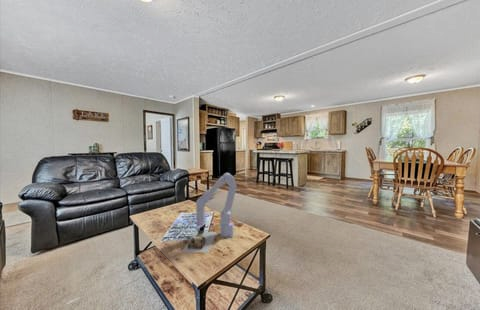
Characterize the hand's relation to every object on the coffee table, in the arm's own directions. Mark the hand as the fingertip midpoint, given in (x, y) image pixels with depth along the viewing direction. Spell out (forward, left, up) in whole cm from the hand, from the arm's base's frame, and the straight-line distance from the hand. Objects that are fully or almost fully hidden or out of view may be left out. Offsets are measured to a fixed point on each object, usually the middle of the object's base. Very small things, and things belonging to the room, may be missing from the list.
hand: (201, 235), depth 118 cm
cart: (0, +5, -1) cm, 5 cm away
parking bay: (0, +9, -1) cm, 10 cm away
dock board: (-1, +5, -2) cm, 5 cm away
